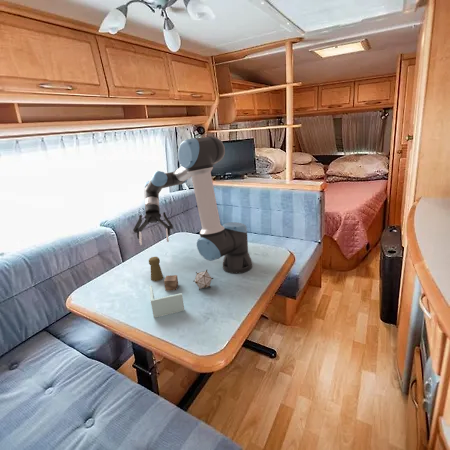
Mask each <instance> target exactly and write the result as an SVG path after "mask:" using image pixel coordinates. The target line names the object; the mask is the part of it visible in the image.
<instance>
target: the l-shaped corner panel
mask: <svg viewBox="0 0 450 450" xmlns="http://www.w3.org/2000/svg"><path fill="white" fill-rule="evenodd" d="M149 296H150V305H151V310H152V314H153V319H155V318H159V317H163V316H167V315H172V314H176V313H180V312H184V311H185V305H184V304H185V302H184V298H183V293H182V292H181V293H177V294H176V293H175V294H172V295H168V296H167V295H166V296H162V297H158V298H155V294H154V289H153V285H149Z"/></svg>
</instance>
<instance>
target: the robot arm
mask: <svg viewBox="0 0 450 450" xmlns="http://www.w3.org/2000/svg"><path fill="white" fill-rule="evenodd" d="M225 154H226V149H225V145H224V143H223V141H222V140H221V139H220V138H218V137H216V136H204V137H192V138H187V139H184V140H183V141H181V143H180V144H179V146H178V150H177V159H178V163H179V164H180V167H178V168H177V169H176V170H174V171H171V172H164V171H161V170H157V171H155V172H154V173H153V174H152V176H151V178H150V180H147V181H146V182H145V183H144V187H143V190H144V207H145V208H144V209H145V213H144V215H142V214H139V218H138V220H137V222H136V224H135V225H134V227H133V234H136V235H137V236H136V237H137V239H138V241H139V243H138V244H139V245H140V246H142V245H143V235H142V231H144V229H145V228H146V227H147V226H148V225H149V224H153V223H159V224H160V225H161V226H162V227H164V228H165V235H166V242H167V243H169V241H170V240H169V236H171V229H174V225H173V224H172V222H171V221H170V219H169V218H168V217H167V214H166V212H163V213H160V211H161V210H160V209H161V208H160V196H159V194H160V192H161V191H162V189H165V188H166V189H167V188H170V187H175V186H177V185H178V186H179V185H183V184H186V183H188V180H189V179H190V178H191V181H192V185H193V192H194V196H195V201H196V205H197V209H198V215H199V219H200V224H201V229H200V231H199V238H198V239H197V242H196V249H197V251H198V252H199V255H201V257H202V258H203V259H205V260H206V261H208V262H209V261H210V262H213V261H215V260H219V259H220V258H222V257H223V260H222V270H224V272H226V273H230V274H243V273H247V272H248V271H251V270H252V268H253V261H252V258H251V256H250V253H249V245H248V244H249V243H248V229H247V228H248V227H247V225H246V224H245V223H242V222H235V221H234V222H231V221H230V222H229V221H228V222H226V223H223V224H221V221H220V215H219V211H218V204H217V199H216V195H215V194H216V193H215V189H214V188H215V187H214V183H213V178H212V173H211V172H212V170H213V169H214V165H216V164H217V163H219V162H220V161H222V160H223V159H224V157H225ZM161 217H162V218H163V219H164V220H165V221H166V222H164V221H163V220H162V219H161ZM144 219H145V220H144ZM143 220H144V221H143Z"/></svg>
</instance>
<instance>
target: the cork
mask: <svg viewBox="0 0 450 450" xmlns="http://www.w3.org/2000/svg"><path fill="white" fill-rule="evenodd" d="M160 262H161V261H160V258H159V257H158V256H151V257H149V259H148V264H149V266H150V281H152V282H158V281H162V280H163V279H164V275H163V272H162V268H161V265H160Z"/></svg>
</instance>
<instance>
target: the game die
mask: <svg viewBox="0 0 450 450" xmlns="http://www.w3.org/2000/svg"><path fill="white" fill-rule="evenodd" d="M195 273H196V276H195V278H194V280H193V281H192V282H194V283H195V284H196V285H197V287H198V288H199V289H198V291H200V290H201V289H205V288H210V289H211V286H210V285H211V282H212V280H214V277H211V274H209V273H208V269H206V270H205V271H200V272H198V271H196V272H195Z"/></svg>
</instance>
